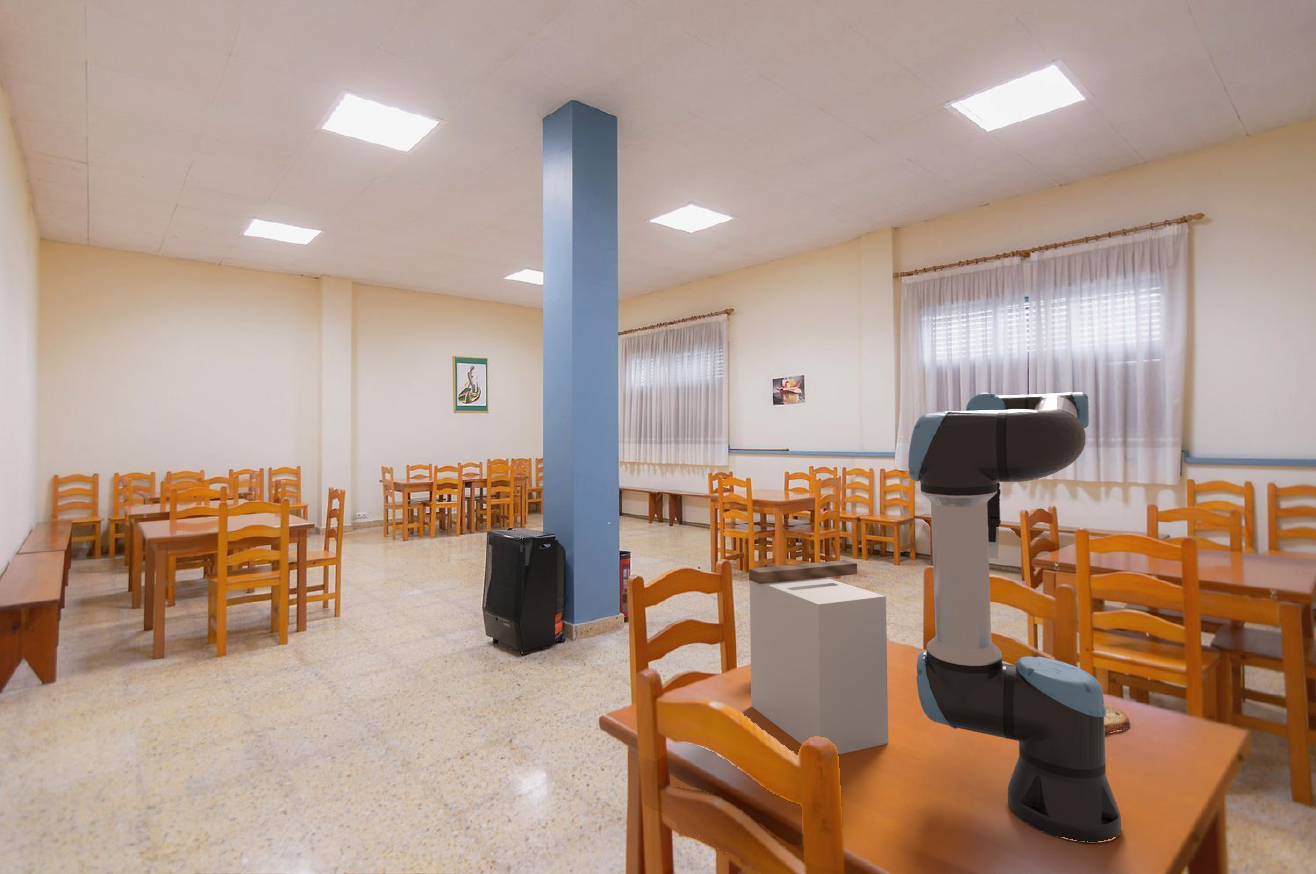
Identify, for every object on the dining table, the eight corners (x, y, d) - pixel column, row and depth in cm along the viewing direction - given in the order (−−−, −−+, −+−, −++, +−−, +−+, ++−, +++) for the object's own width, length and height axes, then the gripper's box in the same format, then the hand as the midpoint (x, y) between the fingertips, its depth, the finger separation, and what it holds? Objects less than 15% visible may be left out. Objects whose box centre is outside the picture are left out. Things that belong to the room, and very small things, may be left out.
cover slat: (844, 570, 151) (844, 560, 151) (857, 574, 146) (857, 563, 146) (749, 580, 141) (749, 568, 141) (759, 584, 137) (759, 572, 137)
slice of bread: (1133, 720, 134) (1132, 702, 134) (1120, 750, 121) (1119, 731, 121) (1037, 698, 147) (1036, 682, 147) (1016, 723, 134) (1016, 705, 134)
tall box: (810, 695, 149) (808, 572, 149) (888, 743, 124) (885, 596, 125) (751, 706, 143) (749, 578, 143) (820, 758, 119) (818, 604, 119)
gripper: (968, 467, 157) (964, 553, 154) (977, 455, 134) (973, 556, 132) (1002, 469, 154) (999, 557, 151) (1017, 457, 131) (1014, 560, 129)
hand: (987, 557), depth 142 cm, fingers open, 13 cm apart
